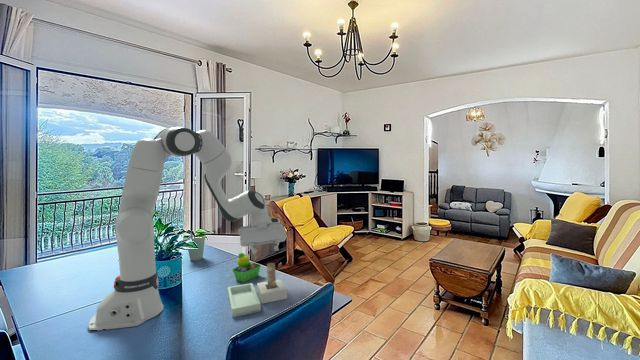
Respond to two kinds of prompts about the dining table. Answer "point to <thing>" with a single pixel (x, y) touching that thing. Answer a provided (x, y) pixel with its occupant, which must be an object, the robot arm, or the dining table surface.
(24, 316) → the dining table surface
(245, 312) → the tray
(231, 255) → the dining table surface
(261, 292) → the socket block
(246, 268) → the fruit basket
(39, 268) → the dining table surface
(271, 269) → the dowel
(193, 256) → the beige plant pot
